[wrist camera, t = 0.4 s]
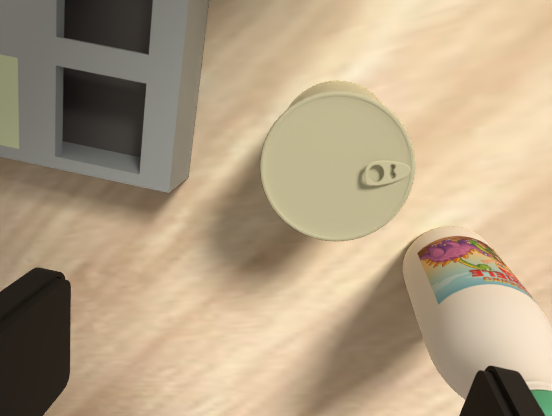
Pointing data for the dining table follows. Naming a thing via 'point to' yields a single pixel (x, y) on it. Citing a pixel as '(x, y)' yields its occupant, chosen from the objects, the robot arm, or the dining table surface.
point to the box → (102, 86)
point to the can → (337, 163)
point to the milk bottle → (476, 312)
